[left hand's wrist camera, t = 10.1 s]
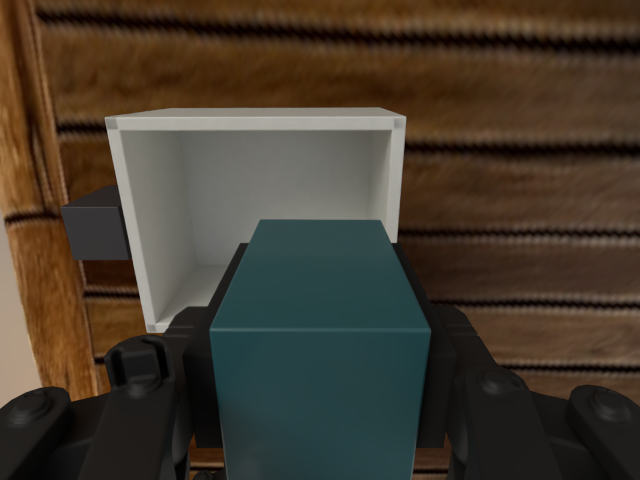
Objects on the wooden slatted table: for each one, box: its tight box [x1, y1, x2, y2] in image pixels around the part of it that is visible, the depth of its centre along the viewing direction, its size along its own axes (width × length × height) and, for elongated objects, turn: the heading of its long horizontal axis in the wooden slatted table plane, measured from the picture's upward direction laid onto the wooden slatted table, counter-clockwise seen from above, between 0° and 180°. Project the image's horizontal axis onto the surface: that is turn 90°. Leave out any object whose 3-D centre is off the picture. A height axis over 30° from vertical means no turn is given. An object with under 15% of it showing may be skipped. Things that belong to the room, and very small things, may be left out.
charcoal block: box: [60, 186, 132, 260], centre depth 34 cm, size 4×4×7 cm
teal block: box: [209, 219, 431, 480], centre depth 12 cm, size 4×4×7 cm
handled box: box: [105, 108, 406, 333], centre depth 24 cm, size 13×24×9 cm, turn 0°
